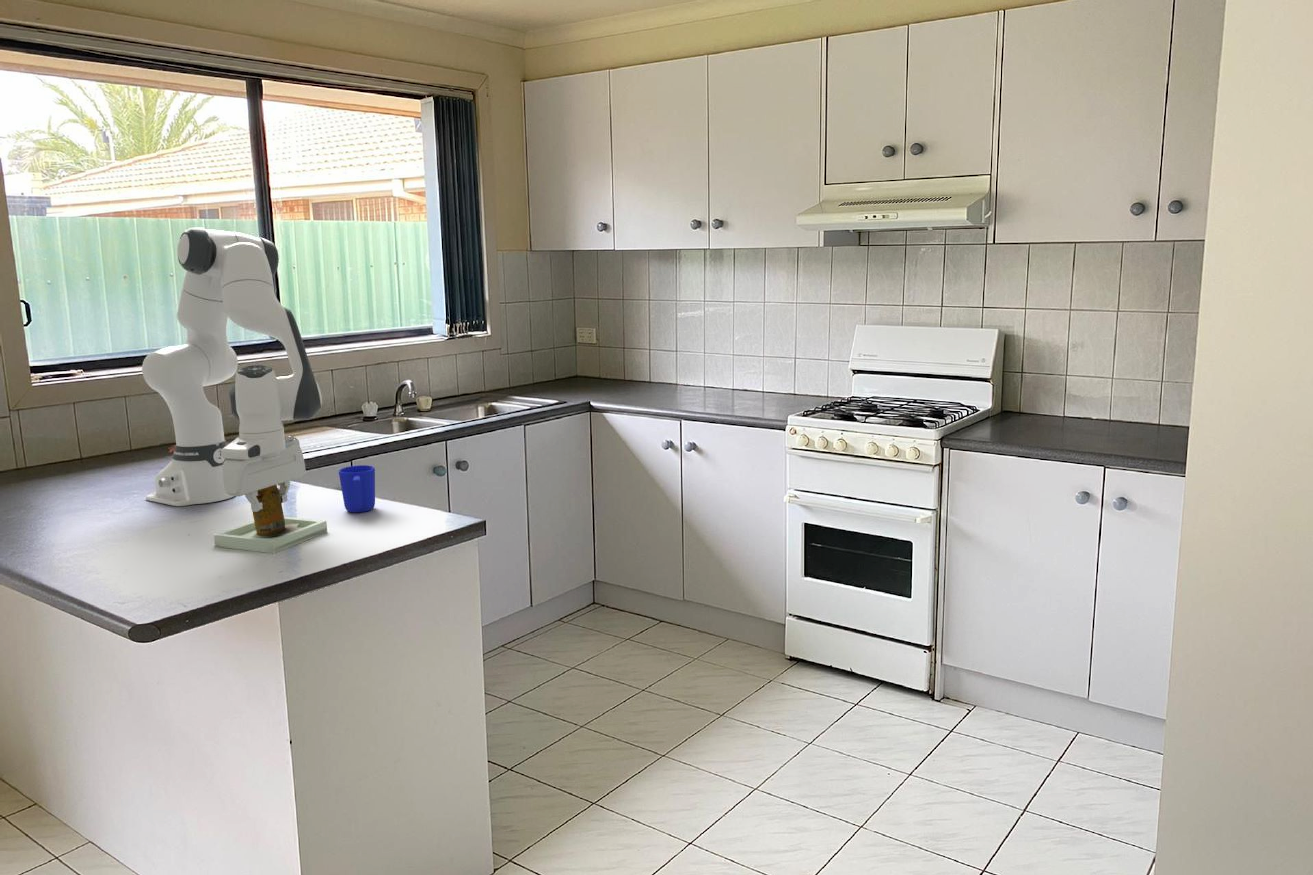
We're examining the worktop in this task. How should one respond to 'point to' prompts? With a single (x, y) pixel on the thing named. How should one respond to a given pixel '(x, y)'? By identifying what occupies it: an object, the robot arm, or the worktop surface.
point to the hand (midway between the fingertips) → (269, 506)
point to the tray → (272, 544)
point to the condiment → (271, 514)
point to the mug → (358, 487)
